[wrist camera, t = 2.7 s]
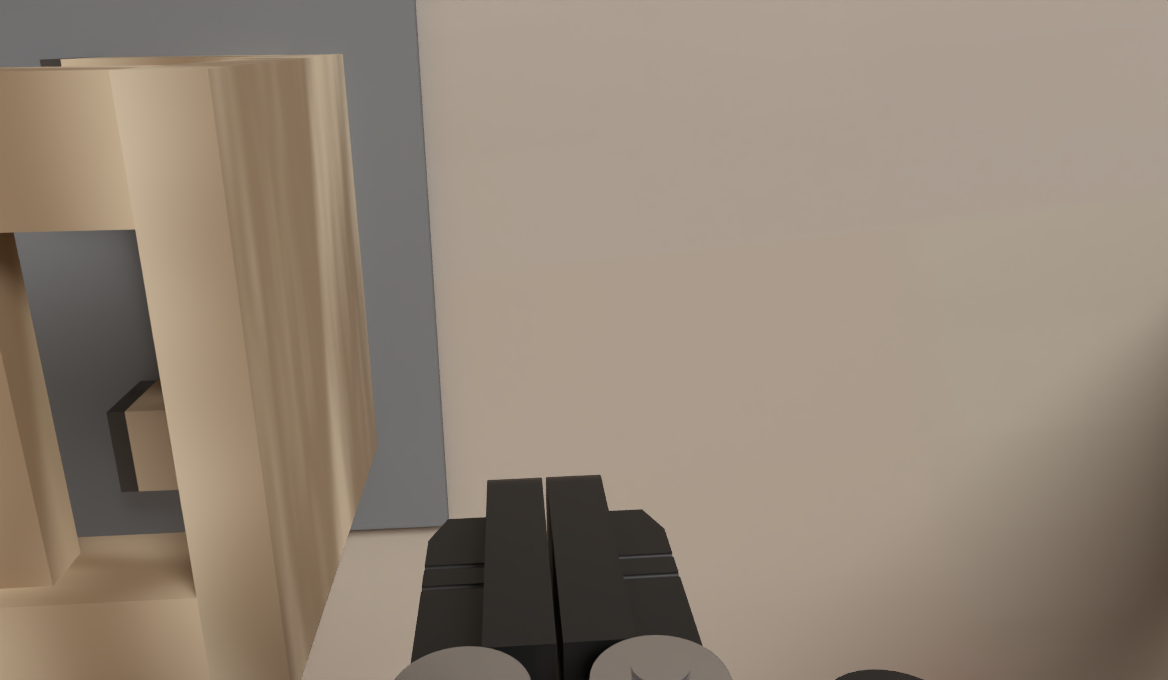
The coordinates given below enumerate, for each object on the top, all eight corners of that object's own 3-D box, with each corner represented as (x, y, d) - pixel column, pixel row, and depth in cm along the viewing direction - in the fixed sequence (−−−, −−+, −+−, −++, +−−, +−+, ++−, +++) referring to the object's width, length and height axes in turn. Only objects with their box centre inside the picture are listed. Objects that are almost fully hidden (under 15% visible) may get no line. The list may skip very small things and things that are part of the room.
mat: (411, -62, 25) (409, -63, 25) (448, 518, 31) (447, 525, 31) (-484, -58, 24) (-505, -60, 23) (-273, 551, 30) (-286, 559, 29)
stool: (153, 454, 29) (-78, 724, 18) (84, 57, 25) (-268, 74, 14) (377, 446, 29) (292, 702, 18) (342, 54, 26) (207, 69, 14)
